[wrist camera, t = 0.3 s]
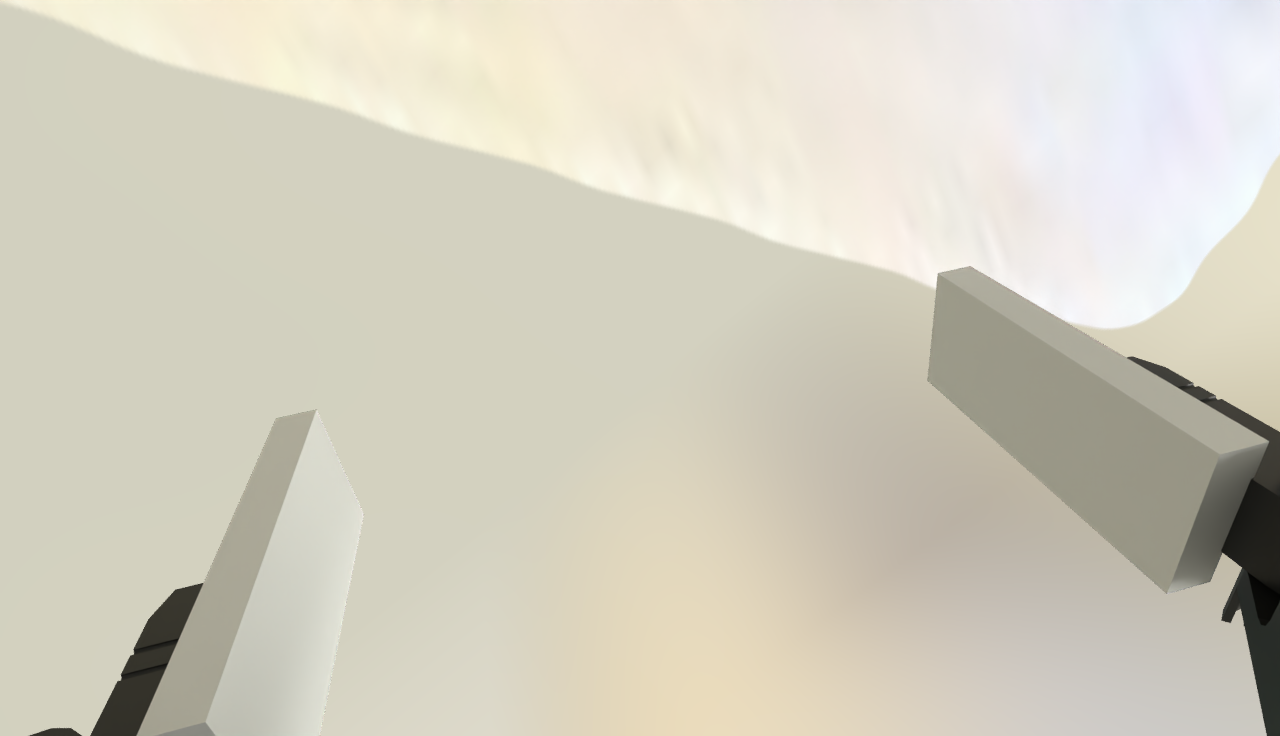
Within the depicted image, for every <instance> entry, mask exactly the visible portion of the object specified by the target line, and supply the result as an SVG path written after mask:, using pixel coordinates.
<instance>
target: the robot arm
mask: <svg viewBox="0 0 1280 736" xmlns="http://www.w3.org/2000/svg"><path fill="white" fill-rule="evenodd" d="M928 382H930V383H931V384H932V385H933V386H934V387H935V388H936V389H937V390H939V391H940V392H941V393H942V394H943V395H944V396H945V397H946V398H948V399H949V400H950V401H951V402H952V403H953V404H954V405H956V406H957V407H958V408H959V409H960V410H961V411H962V412H963V413H964V414H966V415H967V416H968V417H969V418H970V419H971V420H972V421H974V422H975V423H976V424H977V425H978V426H979V427H980V428H981V429H982V430H984V431H985V432H986V433H987V434H988V435H989V436H990V437H991V438H992V439H994V440H995V441H996V442H997V443H998V444H999V445H1000V446H1001V447H1003V448H1004V449H1005V450H1006V451H1007V452H1008V453H1009V454H1010V455H1011V456H1013V457H1014V458H1015V459H1016V460H1017V461H1018V462H1019V463H1020V464H1022V465H1023V466H1024V467H1025V468H1026V469H1027V470H1028V471H1029V472H1031V473H1032V474H1033V475H1034V476H1035V477H1036V478H1037V479H1038V480H1040V481H1041V482H1042V483H1043V484H1044V485H1045V486H1046V487H1047V488H1048V489H1050V490H1051V491H1052V492H1053V493H1054V494H1055V495H1056V496H1057V497H1059V498H1060V499H1061V500H1062V501H1063V502H1064V503H1065V504H1066V505H1068V506H1069V507H1070V508H1071V509H1072V510H1073V511H1074V512H1076V513H1077V514H1078V515H1079V516H1080V517H1081V518H1082V519H1083V520H1084V521H1085V522H1087V523H1088V524H1089V525H1090V526H1091V527H1092V528H1093V529H1094V530H1096V531H1097V532H1098V533H1099V534H1100V535H1101V536H1102V537H1103V538H1104V539H1106V540H1107V541H1108V542H1109V543H1110V544H1111V545H1112V546H1114V547H1115V548H1116V549H1117V550H1118V551H1119V552H1120V553H1121V554H1122V555H1124V556H1125V557H1126V558H1127V559H1128V560H1129V561H1130V562H1131V563H1133V564H1134V565H1135V566H1136V567H1137V568H1138V569H1139V570H1140V571H1141V572H1143V573H1144V574H1145V575H1146V576H1147V577H1148V578H1149V579H1151V580H1152V581H1153V582H1154V583H1155V584H1156V585H1157V586H1158V587H1160V588H1161V589H1162V590H1163V591H1164V592H1165V593H1166V594H1169V593H1172V592H1175V591H1179V590H1182V589H1186V588H1190V587H1193V586H1197V585H1200V584H1204V583H1207V582H1210V581H1211V579H1212V576H1213V574H1214V571H1215V569H1216V567H1217V564H1218V562H1219V560H1220V557H1221V555H1222V553H1224V554H1225V555H1227V556H1228V557H1229V558H1230V559H1232V560H1233V561H1234V562H1236V563H1237V564H1238V565H1239V566H1241V567H1242V569H1241V572H1240V574H1239V576H1238V578H1237V580H1236V583H1235V585H1234V587H1233V589H1232V592H1231V594H1230V596H1229V598H1228V601H1227V603H1226V605H1225V607H1224V609H1223V614H1222V621H1225V622H1229V623H1231V621H1232V618H1233V616H1234V614H1235V612H1236V611H1237V610H1239V609H1241V611H1242V616H1243V621H1244V626H1245V630H1246V635H1247V640H1248V645H1249V650H1250V655H1251V660H1252V665H1253V670H1254V674H1255V679H1256V684H1257V689H1258V694H1259V699H1260V704H1261V709H1262V713H1263V719H1264V723H1265V728H1266V733H1267V736H1280V432H1279V431H1277V430H1275V429H1273V428H1272V427H1270V426H1268V425H1266V424H1264V423H1263V422H1261V421H1259V420H1258V419H1256V418H1254V417H1252V416H1251V415H1249V414H1247V413H1245V412H1243V411H1242V410H1240V409H1238V408H1236V407H1235V406H1233V405H1231V404H1229V403H1227V402H1226V401H1224V400H1222V399H1220V400H1217V399H1216V396H1215V395H1214V394H1212V393H1210V392H1208V391H1206V390H1205V389H1203V388H1201V387H1199V386H1198V387H1194V385H1193V383H1192V382H1190V381H1189V380H1187V379H1185V378H1184V377H1182V376H1180V375H1178V374H1176V373H1175V372H1173V371H1171V370H1169V369H1168V368H1166V367H1163V366H1160V365H1157V364H1154V363H1151V362H1148V361H1145V360H1142V359H1138V358H1135V357H1127V358H1126V357H1124V356H1123V355H1121V354H1119V353H1117V352H1116V351H1114V350H1112V349H1111V348H1109V347H1107V346H1106V345H1104V344H1102V343H1100V342H1099V341H1097V340H1095V339H1094V338H1092V337H1090V336H1088V335H1087V334H1085V333H1083V332H1082V331H1080V330H1078V329H1077V328H1075V327H1073V326H1071V325H1070V324H1068V323H1066V322H1065V321H1063V320H1061V319H1059V318H1058V317H1056V316H1054V315H1053V314H1051V313H1049V312H1048V311H1046V310H1044V309H1042V308H1041V307H1039V306H1037V305H1036V304H1034V303H1032V302H1030V301H1029V300H1027V299H1025V298H1024V297H1022V296H1020V295H1019V294H1017V293H1015V292H1013V291H1012V290H1010V289H1008V288H1007V287H1005V286H1003V285H1001V284H1000V283H998V282H996V281H995V280H993V279H991V278H990V277H988V276H986V275H984V274H983V273H981V272H979V271H978V270H976V269H974V268H972V267H971V266H969V267H965V268H960V269H956V270H951V271H947V272H942V273H938V277H937V288H936V298H935V308H934V319H933V329H932V339H931V349H930V359H929V370H928ZM363 516H364V514H363V511H362V509H361V507H360V504H359V502H358V500H357V498H356V496H355V493H354V492H353V489H352V487H351V485H350V482H349V480H348V478H347V476H346V474H345V472H344V469H343V467H342V465H341V462H340V460H339V458H338V456H337V454H336V451H335V449H334V447H333V445H332V443H331V440H330V438H329V436H328V434H327V432H326V429H325V427H324V425H323V423H322V420H321V418H320V416H319V414H318V412H317V410H312V411H307V412H303V413H298V414H294V415H289V416H285V417H280V418H276V420H275V422H274V424H273V427H272V429H271V431H270V433H269V436H268V438H267V440H266V443H265V445H264V447H263V449H262V452H261V454H260V456H259V458H258V461H257V463H256V465H255V467H254V470H253V472H252V474H251V477H250V479H249V481H248V483H247V486H246V488H245V491H244V493H243V495H242V497H241V499H240V502H239V504H238V506H237V508H236V511H235V513H234V515H233V518H232V520H231V522H230V524H229V527H228V529H227V531H226V534H225V536H224V538H223V540H222V543H221V545H220V547H219V549H218V552H217V554H216V556H215V558H214V561H213V563H212V565H211V568H210V570H209V572H208V574H207V577H206V579H205V582H204V583H201V584H198V585H194V586H189V587H185V588H181V589H177V590H175V591H174V592H173V593H172V594H171V595H170V597H168V599H167V600H166V601H165V602H164V603H163V604H162V605H161V606H160V607H159V608H158V610H157V611H156V612H155V613H154V614H153V615H152V616H151V617H150V618H149V619H148V621H147V623H146V625H145V627H144V629H143V632H142V633H141V635H140V638H139V639H138V641H137V643H136V645H135V647H134V655H131V656H130V658H129V659H128V661H127V663H126V666H125V667H124V670H123V671H122V673H121V676H122V679H121V681H118V682H117V684H116V685H115V688H114V690H113V691H112V693H111V695H110V698H109V699H108V701H107V704H106V705H105V708H104V709H103V712H102V714H101V715H100V718H99V719H98V721H97V723H96V725H95V727H94V729H93V731H92V733H91V735H90V736H320V733H321V727H322V723H323V717H324V713H325V707H326V702H327V697H328V692H329V687H330V682H331V677H332V672H333V667H334V662H335V657H336V652H337V647H338V642H339V637H340V632H341V627H342V622H343V617H344V612H345V607H346V602H347V596H348V592H349V587H350V582H351V576H352V572H353V567H354V562H355V557H356V552H357V547H358V541H359V537H360V531H361V526H362V522H363ZM30 736H81V735H80V734H79V733H77V732H76V731H74V730H73V729H71V728H52V729H48V730H45V731H42V732H39V733H36V734H33V735H30Z"/></svg>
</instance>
